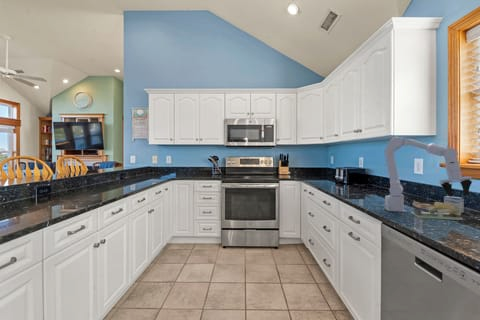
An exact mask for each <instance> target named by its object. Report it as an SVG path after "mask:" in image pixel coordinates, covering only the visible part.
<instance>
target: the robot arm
mask: <svg viewBox="0 0 480 320" xmlns="http://www.w3.org/2000/svg"><path fill="white" fill-rule="evenodd" d="M406 146H410V147H411V146H412V147H416V148H419V149H423V150H426V152H427V153H428V154H432V155H434V156H438V157H444V164H445V170H446V176H447V178H445V179H439V181H438V182H439V184H440V186H441V187H442V188H443V189H444V191H445V193H446V194H447V196H450V197H454V195H453V189H452V185H453V184H452V183H460V185H461V187H462V191H463V195H465V196H469V192H470V187H471V185H472V183H473V182H472V181H473V178H472V176H462V170H461V165H460V162H459V158H458V155H459V153H458V151H457V150H456V149H455V148H452V147H448V146H447V145H440V144H438V142H435V143H433V142H431V143H429V144H428V143H424V142H421V141H420V140H419V141H417V140H416V139H413V138H406V137H400V136H394V137H393V138H391V139H390V140H389V141H388V143H387V145H386V148H385V150H384V157H385V162H386V167H387V172H388V176H389V184H390V185H389V186H390V187H389V189H388V190H389V194H388V195H387V194H386V195H385V197H384V209H385V210H387V212H400V213H401V212H405V213H406V212H407V210H406V209H404V205H405V203H404V201H405V199H404V198H405V197H404V194H403V191H404V187H403V185H402V184H401V180H400V178H399V172H398V167H397V163H396V157H395V153H396V152H397V151H398V150H399V149H400V148H402V147H406Z"/></svg>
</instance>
